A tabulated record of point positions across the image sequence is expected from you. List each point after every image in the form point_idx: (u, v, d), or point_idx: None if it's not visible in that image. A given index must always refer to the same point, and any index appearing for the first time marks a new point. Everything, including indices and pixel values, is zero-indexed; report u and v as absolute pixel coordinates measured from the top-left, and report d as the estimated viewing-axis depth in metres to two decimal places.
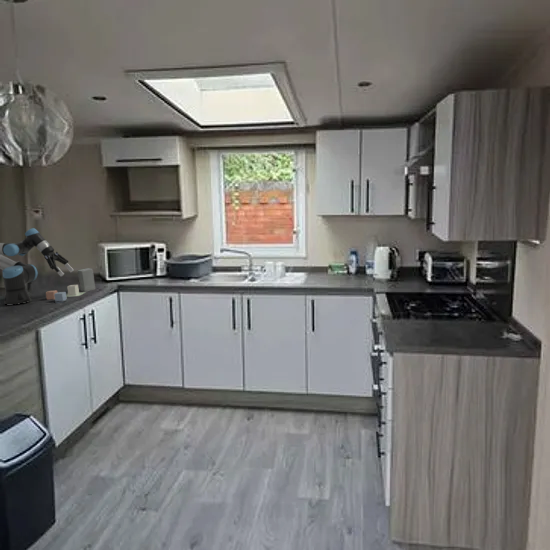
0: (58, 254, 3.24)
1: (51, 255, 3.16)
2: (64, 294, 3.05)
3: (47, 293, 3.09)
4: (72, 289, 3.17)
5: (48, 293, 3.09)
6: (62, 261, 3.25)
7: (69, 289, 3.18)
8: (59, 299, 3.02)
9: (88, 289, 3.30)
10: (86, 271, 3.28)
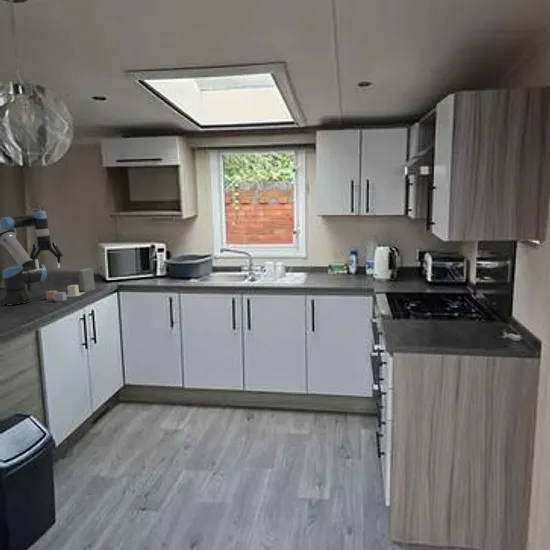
0: None
1: (40, 245, 3.06)
2: (64, 294, 3.05)
3: (47, 293, 3.09)
4: (72, 289, 3.17)
5: (48, 293, 3.09)
6: None
7: (69, 289, 3.18)
8: (59, 299, 3.02)
9: (88, 289, 3.30)
10: (86, 271, 3.28)
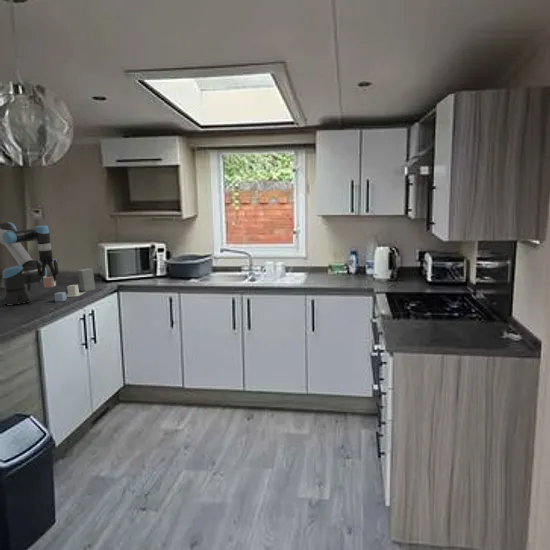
0: None
1: (42, 259, 3.07)
2: (64, 294, 3.05)
3: (44, 279, 3.08)
4: (72, 289, 3.17)
5: (45, 279, 3.08)
6: None
7: (69, 289, 3.18)
8: (59, 299, 3.02)
9: (88, 289, 3.30)
10: (86, 271, 3.28)
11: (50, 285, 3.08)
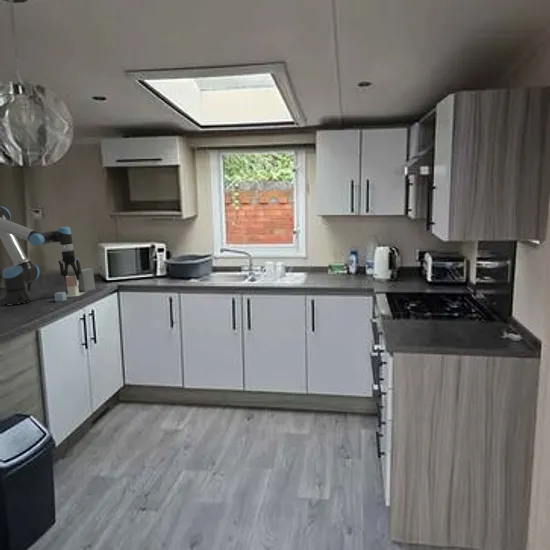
0: (76, 262, 3.15)
1: (65, 259, 3.16)
2: (64, 294, 3.05)
3: (67, 279, 3.16)
4: (72, 289, 3.17)
5: (68, 278, 3.16)
6: None
7: (69, 289, 3.18)
8: (59, 299, 3.02)
9: (88, 289, 3.30)
10: (86, 271, 3.28)
11: (73, 284, 3.17)
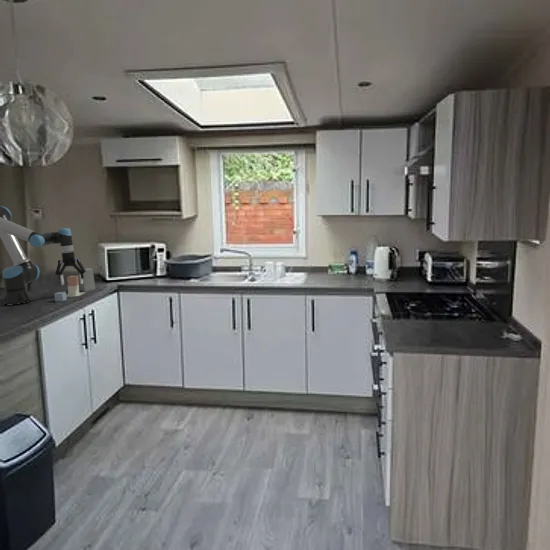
0: (77, 262, 3.15)
1: (64, 261, 3.16)
2: (64, 294, 3.05)
3: (68, 278, 3.16)
4: (72, 288, 3.17)
5: (69, 278, 3.16)
6: None
7: (69, 289, 3.18)
8: (59, 299, 3.02)
9: (88, 289, 3.30)
10: (86, 271, 3.28)
11: (73, 284, 3.17)
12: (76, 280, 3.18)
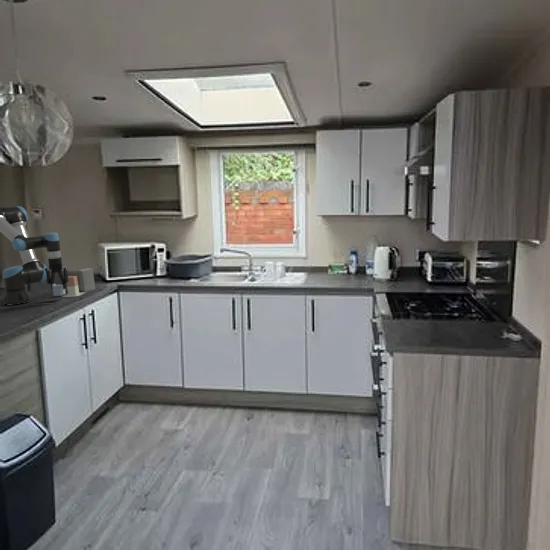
0: (63, 270, 3.00)
1: (51, 267, 3.00)
2: None
3: None
4: (72, 289, 3.17)
5: (68, 278, 3.16)
6: None
7: (69, 289, 3.18)
8: (57, 292, 3.02)
9: (88, 289, 3.30)
10: (86, 271, 3.28)
11: (73, 284, 3.17)
12: (75, 280, 3.18)
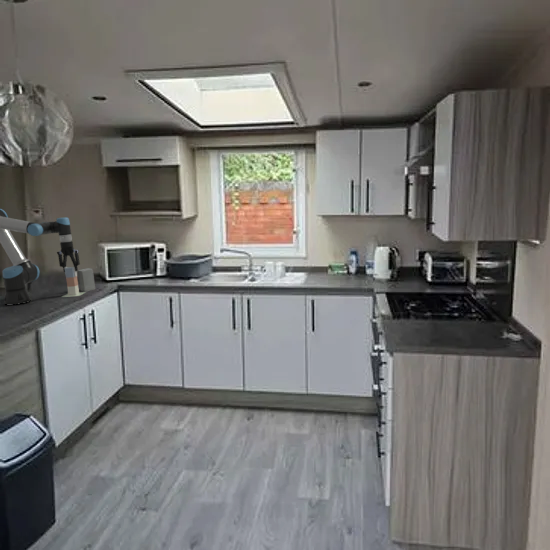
0: None
1: (63, 250, 3.14)
2: None
3: (67, 278, 3.16)
4: (72, 289, 3.17)
5: (68, 278, 3.16)
6: None
7: (69, 289, 3.18)
8: (69, 273, 3.16)
9: (88, 289, 3.30)
10: (86, 271, 3.28)
11: (73, 284, 3.17)
12: (75, 280, 3.18)
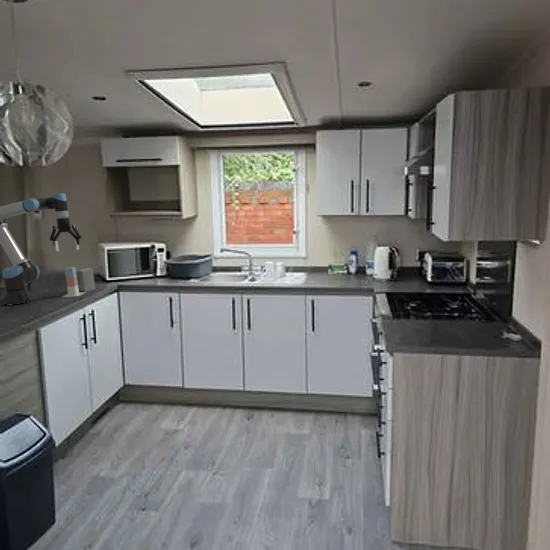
0: (72, 228, 3.12)
1: None
2: (74, 269, 3.18)
3: (67, 278, 3.16)
4: (72, 289, 3.17)
5: (68, 278, 3.16)
6: None
7: (69, 289, 3.18)
8: (69, 274, 3.16)
9: (88, 289, 3.30)
10: (86, 271, 3.28)
11: (73, 284, 3.17)
12: (75, 280, 3.18)
